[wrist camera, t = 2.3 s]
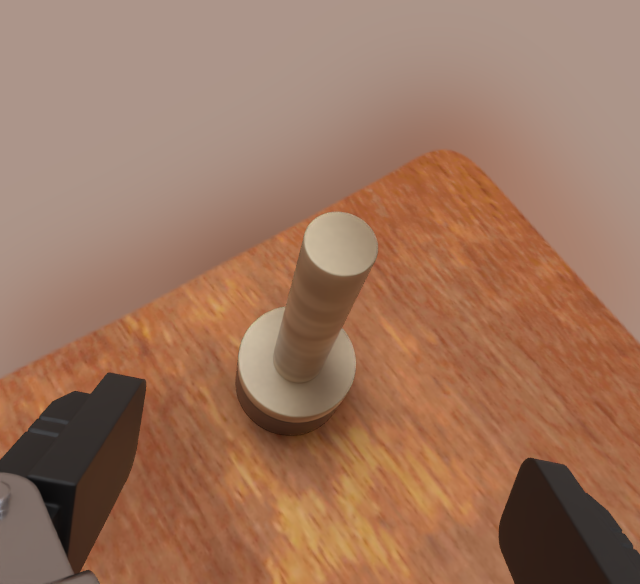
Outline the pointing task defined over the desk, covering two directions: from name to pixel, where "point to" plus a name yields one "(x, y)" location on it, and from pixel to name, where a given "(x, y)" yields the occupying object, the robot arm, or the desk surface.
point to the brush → (308, 331)
